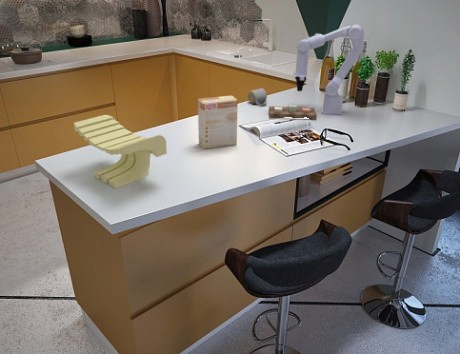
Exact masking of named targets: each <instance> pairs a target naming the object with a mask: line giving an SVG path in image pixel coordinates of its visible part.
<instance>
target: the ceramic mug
mask: <svg viewBox="0 0 460 354" xmlns="http://www.w3.org/2000/svg"><path fill="white" fill-rule="evenodd" d="M247 99H248V102H249V103H250V104H251V105H258V106H259V107H265V106H266V105H267V99H268V95H267V92H266V89H264V88H262V87H261V88H257V89H252V90H250V91H249V92H248V93H247Z"/></svg>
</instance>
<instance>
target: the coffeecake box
mask: <svg viewBox="0 0 460 354" xmlns="http://www.w3.org/2000/svg"><path fill="white" fill-rule="evenodd" d="M197 113H198V115H197V116H198V117H197V118H198V122H197V123H198V126H197V127H198V128H197V129H198V145H200V146H201V148H202V149H203V150H206V149H212V148H220V147H228V146H234V145H237V143H238V99H237V98H236V97H234V96H233V95H223V96H215V97H203V98H197Z"/></svg>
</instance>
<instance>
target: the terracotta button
mask: <svg viewBox="0 0 460 354" xmlns="http://www.w3.org/2000/svg"><path fill="white" fill-rule="evenodd" d="M310 108H311V107H305V108H302V112H308V113H310V112H311V110H310Z"/></svg>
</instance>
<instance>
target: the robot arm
mask: <svg viewBox="0 0 460 354" xmlns="http://www.w3.org/2000/svg"><path fill="white" fill-rule="evenodd" d="M341 37H342V38H345V39H347V38H348V39H349V40H350V41H351V44H352V47H353V48H352V49H351V51H350V52H349V54H348V55H347V57H346V59H345V60H344V61H343V63H342V64H341V66H340V68H339V69H338V70H337V72H336V73H335V75H334V76H333V78H332V79H331V80H330V81H328V82H327V85H326V86H325V87H324V88H325V89H324V91H325V92H324V94H323V104H322V108H320V110H321V114H324V115H325V114H327V115H342V110H343V103H344V97H343V95H340V94H339V89H340V86H341V84H342V83H343V82H344V79H345V78H346V77H347V75H348V74H349V72H350V70H352V68H353V66H354V64H355V62H357V60H358V59H359V57H360V55H361V54H362V53H363V51H364V48H365V32H364V29H363V27H362V25H360V24H357V23H355V24H353V25H352V26H351V25H348V26H344V27H341V28H339V29H336V30H333V31H331V32H328V33H325V34H321V33H317V32H316V33H315V34H314V35H313V36H310V37H305V39H302V40H299V41H298V43H297V46H296V49H297V54H296V61H295V62H296V64H295V72H293V73H292V75H293V76H294V79H295V82H296V89H297V92H302V91H303V88H304V85H305V82H306V81H307V76H308V66H309V65H308V63H309V53H310V51H309V50H313V49H317V48H320V47H322V46H324V45H325V42H328V41H332V40H335V39H338V38H341Z"/></svg>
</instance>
